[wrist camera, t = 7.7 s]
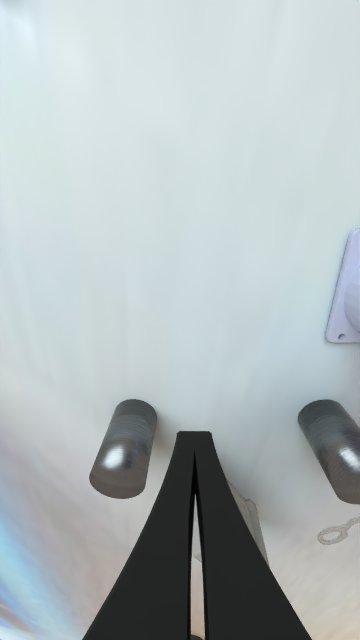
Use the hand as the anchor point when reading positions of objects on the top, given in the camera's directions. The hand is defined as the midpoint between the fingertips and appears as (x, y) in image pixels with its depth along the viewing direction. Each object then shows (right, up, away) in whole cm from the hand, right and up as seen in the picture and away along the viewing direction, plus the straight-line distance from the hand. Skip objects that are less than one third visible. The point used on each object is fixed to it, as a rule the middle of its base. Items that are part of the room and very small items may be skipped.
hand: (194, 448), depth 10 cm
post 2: (+12, -3, +11) cm, 17 cm away
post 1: (-5, -4, +12) cm, 14 cm away
